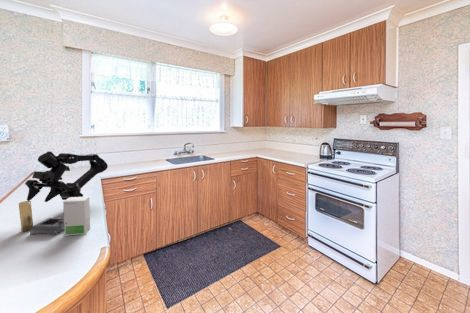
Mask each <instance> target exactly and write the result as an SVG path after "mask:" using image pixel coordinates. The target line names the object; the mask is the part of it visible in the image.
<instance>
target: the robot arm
mask: <svg viewBox="0 0 470 313" xmlns="http://www.w3.org/2000/svg"><path fill="white" fill-rule="evenodd" d="M87 161H89V165H90V167H89V169H88V170H87V171H86V172H84V173H83V175H81V176H80V177H79V178H77V179H76V180H75V181H74V182H66V183H65V182H64V181H62V180H63V178H62V176H63V175H64V173H65V172H69V171H71V169H70V166H69V165H73V164H76V163H78V162H87ZM37 162H39V163H40V164H42V165H43V166H44V167H45V168H47V169H50V170H46V171H36V170H34V171H33V174H32V179H28V180H26V181H25V183H24V185H26V187H27V188H28V193H27V197H26V201H31V200H32V199H33V198H35V197H36V196H37V195H38V194H39V193H40V192H41V190H42V189H43V188H50V189H49V190H50V191H49V192H48V194H47V196H46V197H45V199H44V202H45V203H48V202H49V201H51V200H52V199H53V198H55V197H57V196H59V197H60V198H61V200H63V201H65V200H66V199H68V198H69V197H84V194H83V193H81V191H82V188H83V187H84V186H85V185H86V184H88V183H89V182H90V181H91V180H92V179H93V178H94V177H95V176H97V175H98V174H100V173H103V172H105V171H107V169H108V163H107V161H105V159H103V158H101V157H100V156H99V155H98V154H96V153H87V154H75V153H65V152H63V153H62V152H61V153H59V154H58V155H57V156H56V155H55V154H54V153H53V151H50V150H49V151H46V152H45V153H42V154H41V155H39V156H38V158H37Z"/></svg>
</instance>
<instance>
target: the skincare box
mask: <svg viewBox="0 0 470 313" xmlns="http://www.w3.org/2000/svg"><path fill="white" fill-rule="evenodd" d="M62 203H63V205H62V206H63V218H64V236H65V237H66V236H77V235H79V234H80V235H86V234H87V233H88V232H89V231H90V229H91V211H90V210H91V209H90V207H91V206H90V196H83V197H69V198H68V199H66V200H63V202H62ZM87 231H88V232H87ZM80 235H79V236H80Z"/></svg>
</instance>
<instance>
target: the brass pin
mask: <svg viewBox="0 0 470 313" xmlns="http://www.w3.org/2000/svg"><path fill="white" fill-rule="evenodd" d="M32 208H33V207H32V201H31V200H30V201H27V200H25V201H21V202H19V203H18V210H19V220H20V228H21V229H20V230H21V232H22V233H27V232H30V230H32V229H33V226H34V221H33V220H34V219H33V210H32Z"/></svg>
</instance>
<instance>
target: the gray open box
mask: <svg viewBox="0 0 470 313" xmlns="http://www.w3.org/2000/svg"><path fill="white" fill-rule="evenodd" d="M63 229H64V217H48V218H46V219H44V220H41V221H40V222H38V223H36V224H33V229H32V230H30V231H29V235H30V236H55V235H57V234H59V233H60V232H62V231H63ZM61 230H62V231H61ZM64 230H65V229H64ZM59 231H60V232H59ZM58 232H59V233H58ZM56 233H57V234H56Z"/></svg>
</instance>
